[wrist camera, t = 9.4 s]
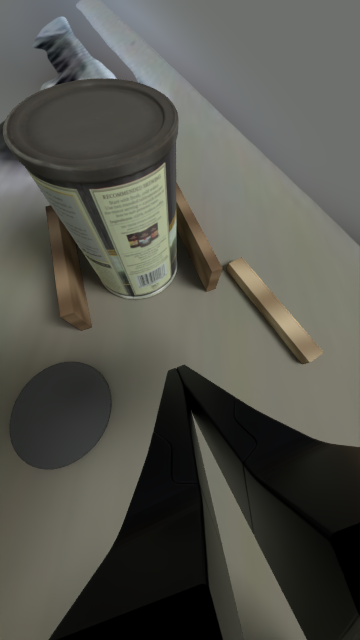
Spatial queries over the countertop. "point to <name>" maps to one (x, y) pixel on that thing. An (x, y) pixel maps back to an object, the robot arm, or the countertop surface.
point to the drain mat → (60, 415)
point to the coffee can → (106, 175)
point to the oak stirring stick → (274, 312)
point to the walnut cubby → (70, 272)
